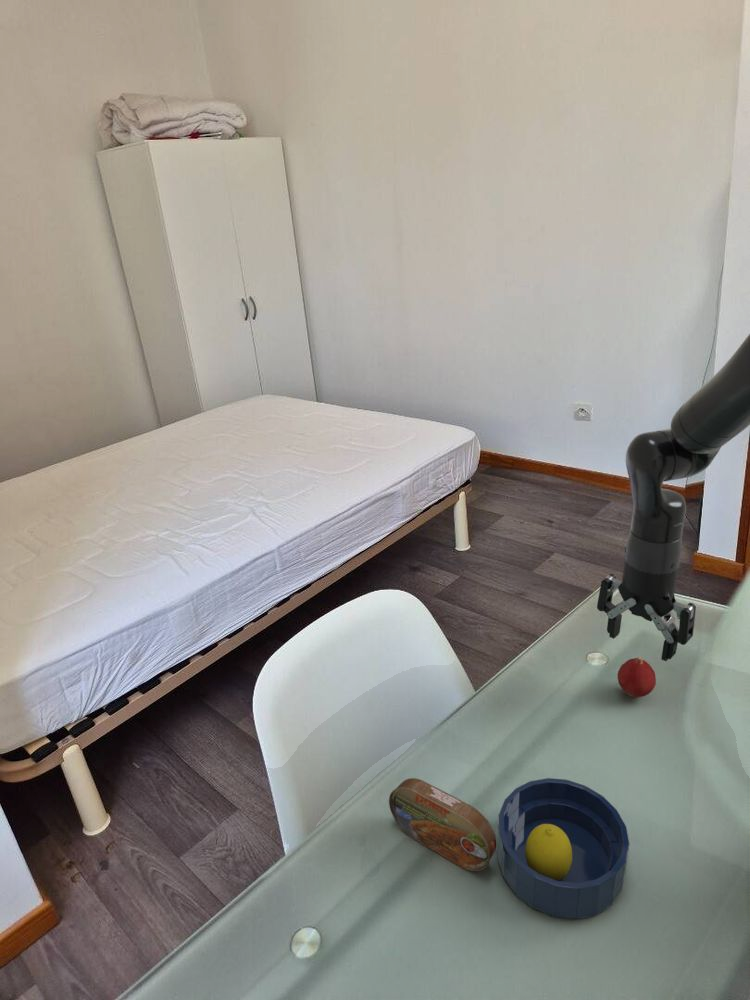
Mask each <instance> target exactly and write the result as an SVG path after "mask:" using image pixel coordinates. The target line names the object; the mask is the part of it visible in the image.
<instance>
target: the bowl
mask: <svg viewBox="0 0 750 1000" xmlns="http://www.w3.org/2000/svg"><path fill="white" fill-rule="evenodd" d="M497 819H498V823H497V824H498V825H497V826H498V827H497V830H498V831H497V862H498V865H499V867H500V871H501V873H502V877H503V879H504V880H505V881H506V883H507V884H508V886H509V887H510V888H511V890H512V891H513V893H514V894H515V895H516V896H517V897H518V898H519V899H521V900H523V901H524V902H525V903H526V904H528V906H530V907H531V908H533V909H534V910H538V911H540V912H542V913H544V914H547V915H550V916H552V917H555V918H563V919H571V920H572V919H573V920H577V919H578V920H579V919H583V918H587V917H592V916H593V917H594V916H597V915H598V914H600V913H601V912H603V911H604V910H606V909H607V908H610V907H611V906H612V905H613V904H614V903H615V902H616V900H617V898H618V897H619V896H620V895H621V893H622V891H623V886H624V881H625V876H626V871H627V870H626V869H627V864H628V857H629V848H630V839H629V835H628V829H627V826H626V824H625V822H624V820H623V819H622V816H621V815H620V813H619V811H618V810H617V809H616V807H614V805H613V804H611V802H609V801H608V800H607V799H606V797H605V796H604V795H602V794H600V793H598V792H597V791H596V790H594V789H592V788H590V787H588V786H587V785H584V784H581V783H578V782H576V781H573V780H570V779H563V778H552V777H551V778H550V777H546V778H540V779H535V780H530V781H527V782H526V783H524V784H522V785H519V786H517V787H516V788H514V790H513V791H512V792H510V794H509V795H508V796H507V797H506V798H505V799H504V801H503V802H502V805H501V807H500V811H499V812H498V818H497ZM542 824H552V825H555V826H557V827H559V828H560V829H561V830H562V831H563V832H564V833H565V834H566V835H567V837H568V839H569V841H570V844H571V848H572V863H571V867H570V870H569V871H568V873H567V874H566V876H565V877H563V878H562V879H561V880H559V881H556V880H554V879H551V878H549V877H546V876H543V875H541V874H538V873H537V872H535V871H534V870H533V869H531V868H530V867H529V866H528V864H527V861H526V855H525V847H526V842H527V839H528V837H529V835H530V833H531V831H532V830H533V829H534V828H535V827H537V826H539V825H542Z"/></svg>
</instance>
